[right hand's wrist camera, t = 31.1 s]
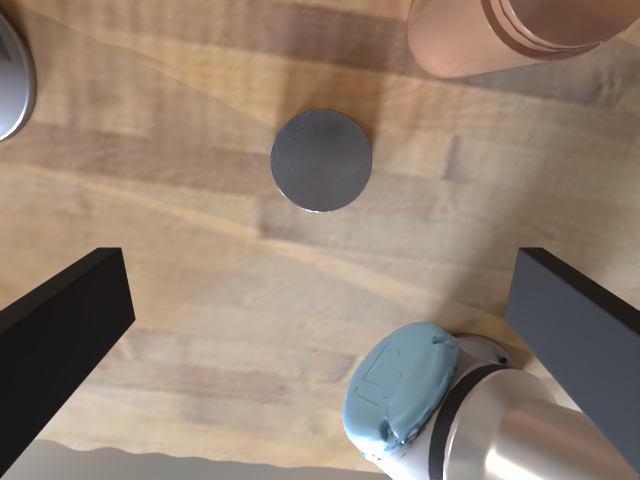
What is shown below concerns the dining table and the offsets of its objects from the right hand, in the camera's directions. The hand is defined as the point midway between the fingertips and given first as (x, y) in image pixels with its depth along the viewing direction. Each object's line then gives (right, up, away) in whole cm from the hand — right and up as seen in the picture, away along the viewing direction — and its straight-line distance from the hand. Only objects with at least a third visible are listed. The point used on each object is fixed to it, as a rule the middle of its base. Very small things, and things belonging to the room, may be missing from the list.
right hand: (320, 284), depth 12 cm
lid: (0, +10, +26) cm, 28 cm away
